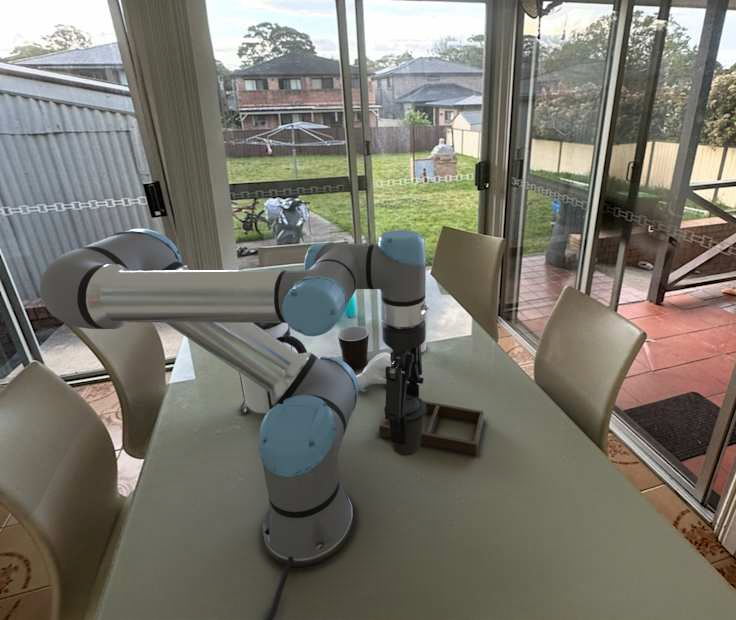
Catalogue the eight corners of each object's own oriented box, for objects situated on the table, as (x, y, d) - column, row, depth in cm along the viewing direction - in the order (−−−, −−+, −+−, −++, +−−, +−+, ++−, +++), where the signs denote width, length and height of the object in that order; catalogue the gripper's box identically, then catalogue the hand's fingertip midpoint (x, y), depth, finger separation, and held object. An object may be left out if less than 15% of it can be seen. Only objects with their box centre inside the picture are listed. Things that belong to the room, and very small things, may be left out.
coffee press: (237, 433, 100) (214, 314, 89) (243, 392, 114) (224, 285, 103) (315, 419, 104) (303, 304, 93) (311, 381, 118) (300, 277, 107)
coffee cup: (379, 456, 83) (377, 413, 80) (393, 428, 91) (392, 387, 87) (420, 465, 81) (420, 421, 78) (431, 436, 88) (431, 394, 85)
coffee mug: (365, 374, 121) (363, 342, 118) (335, 370, 123) (333, 339, 119) (376, 352, 132) (375, 322, 128) (349, 349, 134) (347, 320, 130)
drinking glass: (401, 352, 132) (400, 306, 127) (412, 342, 138) (412, 298, 132) (422, 357, 129) (421, 311, 124) (432, 346, 135) (432, 302, 129)
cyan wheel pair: (357, 320, 152) (356, 294, 148) (328, 325, 148) (326, 298, 145) (350, 309, 160) (348, 283, 157) (323, 313, 157) (320, 288, 153)
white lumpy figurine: (397, 356, 113) (355, 374, 108) (400, 383, 117) (360, 401, 111) (385, 345, 118) (344, 362, 113) (389, 371, 122) (349, 389, 116)
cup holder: (476, 456, 93) (476, 444, 92) (379, 436, 98) (379, 425, 97) (483, 421, 103) (484, 411, 102) (395, 406, 108) (395, 395, 107)
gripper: (406, 353, 66) (408, 471, 74) (438, 298, 84) (437, 397, 93) (360, 347, 68) (367, 462, 76) (401, 294, 86) (403, 391, 95)
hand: (405, 426), depth 84 cm, fingers closed on coffee cup, 8 cm apart
